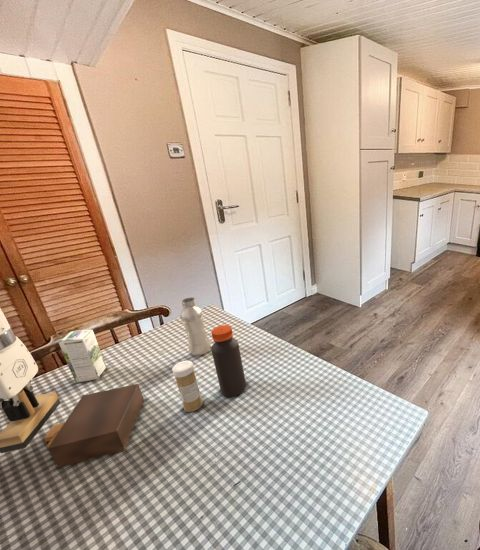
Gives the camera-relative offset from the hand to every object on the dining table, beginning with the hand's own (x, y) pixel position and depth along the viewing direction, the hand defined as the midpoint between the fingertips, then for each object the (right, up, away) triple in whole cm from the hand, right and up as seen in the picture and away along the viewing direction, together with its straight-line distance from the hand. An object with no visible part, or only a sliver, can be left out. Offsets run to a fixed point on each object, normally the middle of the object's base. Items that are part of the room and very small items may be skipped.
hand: (25, 412), depth 67 cm
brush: (0, -4, +2) cm, 4 cm away
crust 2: (+6, -8, +2) cm, 10 cm away
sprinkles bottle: (+29, -5, +15) cm, 33 cm away
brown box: (+11, -8, +8) cm, 16 cm away
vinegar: (+37, -3, +21) cm, 43 cm away
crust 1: (+1, -7, +7) cm, 10 cm away
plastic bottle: (+19, +4, +37) cm, 42 cm away
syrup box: (-9, -1, +26) cm, 28 cm away
